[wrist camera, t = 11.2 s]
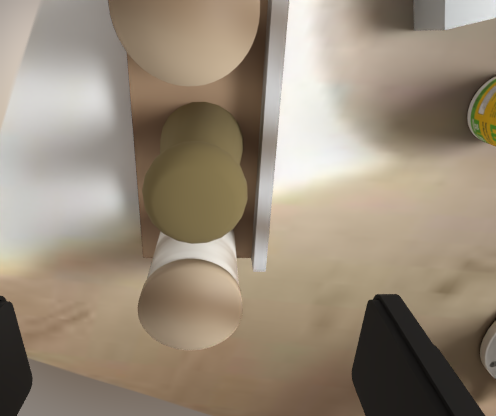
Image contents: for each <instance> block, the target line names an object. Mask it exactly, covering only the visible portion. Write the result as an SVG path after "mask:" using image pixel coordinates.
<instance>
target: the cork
mask: <svg viewBox="0 0 496 416" xmlns="http://www.w3.org/2000/svg"><path fill="white" fill-rule="evenodd" d="M242 152H243V134H242V131H241V129H240V126H239V123H238V122H237V121H236V119H235V118H234V117H233V116H232V114H231V113H230V112H228V111H227V110H225V109H224V108H222V107H221V106H219V105H216V104H212V103H209V102H191V103H189V104H186V105H184V106H181V107H179V108H178V109H177V110H175V111H174V112H173V113H172V114H171V115H170V116H169V117H168V119H167V121H166V122H165V124H164V126H163V128H162V133H161V139H160V155H158V156H157V157H156V158H155V159H154V161H153V162H152V164H151V166H150V168H149V169H148V171H147V173H146V174H145V177H144V183H143V188H142V194H143V200H144V206H145V211H146V212H147V214H148V216H149V218H150V220H151V222H152V223H153V224H154V225H155V226H156V227H157V228H158V229H159V230H160V231H161V232H162V233H163V234H165V235H167V236H169V237H171V238H173V239H175V240H177V241H180V242H185V243H190V244H196V243H208V242H211V241H214V240H216V239H219V238H222V237H223V236H224V235H226V234H227V233H228V232H230V231H231V230H233V229H234V227H235V226H236V224H237V223H238V222H239V220H240V219H241V218H242V215H243V213H244V209H245V206H246V203H247V200H248V198H247V183H246V179H245V177H244V174H243V172H242V169H241V166H240V161H241V157H242Z"/></svg>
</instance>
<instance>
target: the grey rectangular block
mask: <svg viewBox="0 0 496 416" xmlns="http://www.w3.org/2000/svg"><path fill="white" fill-rule="evenodd" d="M413 3H414V31H421V30H447V29H451V28H455V27H459V26H464V25H468V24H472V23H476V22H480V21H484V20H488V19H492V18H496V0H413Z"/></svg>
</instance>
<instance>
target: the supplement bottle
mask: <svg viewBox="0 0 496 416" xmlns="http://www.w3.org/2000/svg"><path fill="white" fill-rule="evenodd" d="M467 121H468V126H469V128H470V130H471V132H472V133H473V135H474V136H476V137H477V138H478V139H480V140H482V141H484V142H486V143H488V144H491V145H493V146H496V77H494V78H492V79H490V80H489V81H487V82H486V83H485V84H484V85H483V86H482V87H481V88H480V89H479V90H478V91H477V92H476V94H475V95H474V97H473V99H472V101H471V103H470V106H469V109H468V115H467Z"/></svg>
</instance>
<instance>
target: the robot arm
mask: <svg viewBox="0 0 496 416" xmlns="http://www.w3.org/2000/svg"><path fill="white" fill-rule="evenodd" d="M480 357H481V362H482V364H483V365H484V367H485V369H486V370H487V371H488V372H489V373H490V374H491V376H492V377H494V378H495V379H496V321H495V322H494V323H493V324H492V325H491V327H490V328H489V329H488V331H487V333H486V334H485V336H484V338H483V341H482V344H481V347H480ZM352 380H353V384H354V387H355V389H356V392H357V394H358V397H359V400H360V402H361V405H362V407H363V410H364V413H365V415H366V416H485V415H484V413H483V412H482V410H481V409H480V408H479V406H478V405H477V403H476V402H475V400H474V399H473V398H472V396H471V395H470V393H469V392H468V390H467V389H466V388H465V386H464V385H463V383H462V382H461V380H460V379H459V377H458V376H457V375H456V373H455V372H454V370H453V369H452V367H451V366H450V365H449V363H448V362H447V360H446V359H445V357H444V356H443V355H442V353H441V352H440V351H439V349H438V348H437V347H436V346H434V345H433V343H432V342H431V340H430V339H429V338H428V336H427V335H426V333H425V332H424V330H423V329H422V327H421V326H420V325H419V323H418V322H417V320H416V319H415V317H414V316H413V314H412V313H411V312H410V310H409V309H408V307H407V306H406V304H405V303H404V301H403V300H402V299H401V297H400V296H399V295H397V294H377V295H375V297H374V299H373V300H369V301H368V303H367V307H366V311H365V316H364V320H363V324H362V329H361V333H360V337H359V342H358V346H357V350H356V355H355V359H354V363H353V368H352ZM31 386H32V373H31V370H30V366H29V362H28V359H27V355H26V352H25V348H24V344H23V341H22V337H21V333H20V330H19V326H18V322H17V319H16V315H15V311H14V308H13V305H12V303H11V302H8V301H6V299H5V298H4V297H3V296H0V416H17V414H18V412H19V410H20V409H21V407H22V405H23V403H24V401H25V399H26V397H27V395H28V394H29V392H30V389H31Z"/></svg>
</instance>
